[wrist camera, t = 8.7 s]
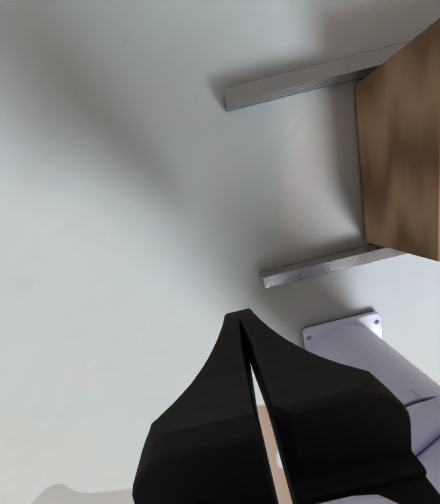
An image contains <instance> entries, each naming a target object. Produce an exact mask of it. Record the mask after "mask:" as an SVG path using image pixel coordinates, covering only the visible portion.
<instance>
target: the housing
mask: <svg viewBox="0 0 440 504" xmlns="http://www.w3.org/2000/svg"><path fill="white" fill-rule="evenodd" d="M355 99H356V113H357V126H358V140H359V154H360V167H361V181H362V195H363V208H364V222H365V235H366V242H368V243H372V244H376V245H379V246H383V247H387V248H391V249H394V250H398V251H402V252H406V253H409V254H413V255H417V256H421V257H424V258H428V259H432V260H435V261H440V19H438V20H437V21H436V22H435V23H433V24H432V25H431V26H430V27H428V28H427V29H426V30H424V31H423V32H422V33H421V34H419V35H418V36H417V37H416V38H414V39H413V40H412V41H410V42H409V43H408V44H407V45H405V46H404V47H403V48H402V49H400V50H399V51H398V52H397V53H395V54H394V55H393V56H391V57H390V58H389V59H388V60H386V61H385V62H384V63H383V64H381V65H380V66H379V67H378V68H376V69H375V70H374V71H372V72H371V73H370V74H369V75H367V76H366V77H365V78H364V79H362V80H361V81H360V82H358V83H357V84H356V85H355Z"/></svg>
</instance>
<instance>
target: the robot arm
mask: <svg viewBox="0 0 440 504" xmlns="http://www.w3.org/2000/svg"><path fill="white" fill-rule="evenodd" d="M375 320H376V321H375ZM374 321H375V322H374ZM302 333H303V339H304V345H305V349H303V348H300V347H299V346H297V345H295V344H293V343H291V342H290V341H288V340H286V339H285V338H283V337H282V336H280V335H279V334H277V333H276V332H275V331H273V330H272V329H271V328H270V327H268V326H267V325H266V324H265V323H264V322H262V321H261V320H260V319H259V318H258V317H257V316H256V315H255V314H254V313H253V311H252V310H251V309H245V310H240V311H236V312H232V313H228V314H226V315H225V317H224V322H223V326H222V329H221V331H220V334H219V337H218V339H217V342H216V344H215V346H214V348H213V350H212V352H211V354H210V356H209V358H208V360H207V361H206V363H205V365H204V366H203V368H202V369H201V371H200V372H199V374H198V375H197V376H196V378H195V379H194V381H193V382H192V383H191V384H190V386H189V387H188V388H187V389H186V390H185V391H184V393H183V394H182V395H181V396H180V397H179V398H178V399H177V400H176V401H175V402H174V403H173V404H172V405H171V406H170V407H169V408H168V409H167V410H166V411H165V412H164V413H163V414H162V415H161V416H160V417H159V418H158V419H157V420H155V421H154V422H153V423H152V425H151V428H150V431H149V433H148V436H147V438H146V441H145V444H144V447H143V450H142V454H141V458H140V461H139V465H138V469H137V472H136V476H135V480H134V484H133V493H132V496H133V499H134V503H135V504H279V503H278V499H277V494H276V490H275V486H274V482H273V477H272V473H271V469H270V465H269V460H268V457H267V451H266V447H265V443H264V438H263V435H262V430H261V426H260V422H259V417H258V412H257V405H256V398H255V392H254V385H253V378H252V371H251V366H252V369H253V372H254V374H255V377H256V380H257V383H258V386H259V388H260V391H261V394H262V397H263V399H264V402H265V405H266V408H267V411H268V414H269V417H270V421H271V425H272V428H273V432H274V436H275V440H276V443H277V447H278V451H279V455H280V458H281V462H282V466H283V469H284V473H285V476H286V480H287V484H288V488H289V492H290V495H291V499H292V503H293V504H440V386H439V385H438V384H437V383H436V382H434V381H433V380H432V379H431V378H429V377H428V376H427V375H426V374H424V373H423V372H422V371H421V370H419V369H418V368H417V367H416V366H415V365H413V364H412V363H411V362H410V361H408V360H407V359H406V358H405V357H403V356H402V355H401V354H400V353H398V352H397V351H396V350H395V349H393V348H392V347H391V346H390V345H388V344H387V343H386V342H385V341H383V340H382V331H381V316H380V314H379V313H378V312H375V311H374V312H369V313H365V314H361V315H357V316H353V317H349V318H345V319H340V320H336V321H332V322H328V323H324V324H320V325H316V326H312V327H308V328H305V329H304V330H303V332H302ZM308 336H310V337H309V338H307V337H308ZM250 363H251V365H250Z"/></svg>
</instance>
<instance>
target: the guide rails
mask: <svg viewBox="0 0 440 504" xmlns="http://www.w3.org/2000/svg"><path fill="white" fill-rule="evenodd" d="M409 42H410V41H408V42H404V43H400V44H396V45H392V46H388V47H384V48H381V49H377V50H373V51H369V52H365V53H361V54H357V55H353V56H349V57H345V58H341V59H337V60H333V61H329V62H326V63H322V64H318V65H314V66H310V67H306V68H302V69H298V70H294V71H290V72H286V73H282V74H278V75H274V76H270V77H267V78H263V79H259V80H255V81H251V82H247V83H243V84H239V85H235V86H231V87H227V88H225V92H224V102H225V107H226V112H227V111H231V110H235V109H239V108H243V107H247V106H251V105H255V104H259V103H263V102H267V101H271V100H275V99H279V98H283V97H287V96H291V95H294V94H298V93H302V92H306V91H310V90H314V89H318V88H322V87H326V86H330V85H334V84H338V83H342V82H346V81H350V80H354V79H358V78H362V77H366V76H367V75H369V74H370V73H371V72H372V71H374V70H375V69H376V68H378V67H379V66H380V65H381V64H383V63H384V62H385V61H386V60H388V59H389V58H390V57H391V56H393V55H394V54H395V53H397V52H398V51H399V50H400V49H402V48H403V47H404V46H405V45H407V44H408V43H409ZM403 254H407V253H406V252H402V251H398V250H394V249H391V248H387V247H383V246H379V245H376V244H373V245H369V246H365V247H361V248H357V249H353V250H349V251H345V252H341V253H337V254H332V255H328V256H324V257H320V258H316V259H312V260H308V261H304V262H300V263H296V264H292V265H288V266H284V267H280V268H275V269H271V270H267V271H263V272H260V276H261V281H262V283H263V285H264V286H265V288H268V287H272V286H276V285H280V284H284V283H288V282H292V281H296V280H300V279H305V278H309V277H313V276H317V275H321V274H325V273H329V272H333V271H337V270H341V269H345V268H349V267H354V266H358V265H362V264H366V263H370V262H374V261H378V260H382V259H386V258H390V257H394V256H398V255H403Z"/></svg>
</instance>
